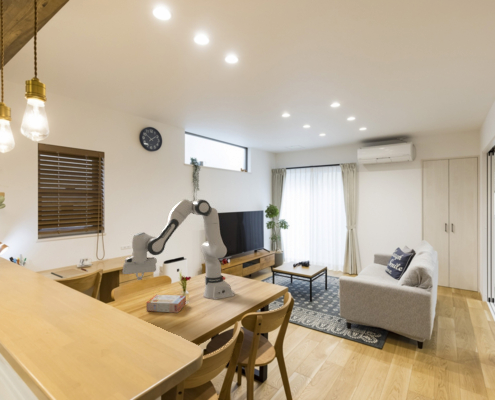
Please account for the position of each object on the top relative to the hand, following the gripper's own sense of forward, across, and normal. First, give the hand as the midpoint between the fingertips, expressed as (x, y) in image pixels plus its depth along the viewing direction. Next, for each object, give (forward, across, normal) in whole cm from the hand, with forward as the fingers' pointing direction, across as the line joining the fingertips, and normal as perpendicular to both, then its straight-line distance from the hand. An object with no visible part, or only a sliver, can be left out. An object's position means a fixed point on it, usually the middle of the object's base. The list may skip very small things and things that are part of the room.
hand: (139, 279), depth 180 cm
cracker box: (+15, -7, +2) cm, 17 cm away
